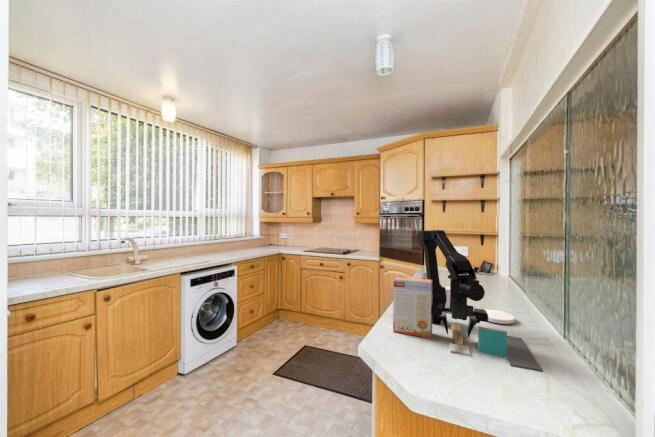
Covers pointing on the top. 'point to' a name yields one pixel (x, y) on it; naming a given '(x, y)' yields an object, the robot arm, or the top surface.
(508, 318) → the white gear
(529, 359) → the mat
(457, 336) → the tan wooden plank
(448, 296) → the white cup
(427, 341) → the top surface
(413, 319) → the cracker box
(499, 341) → the tile
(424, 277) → the energy drink can
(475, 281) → the robot arm
